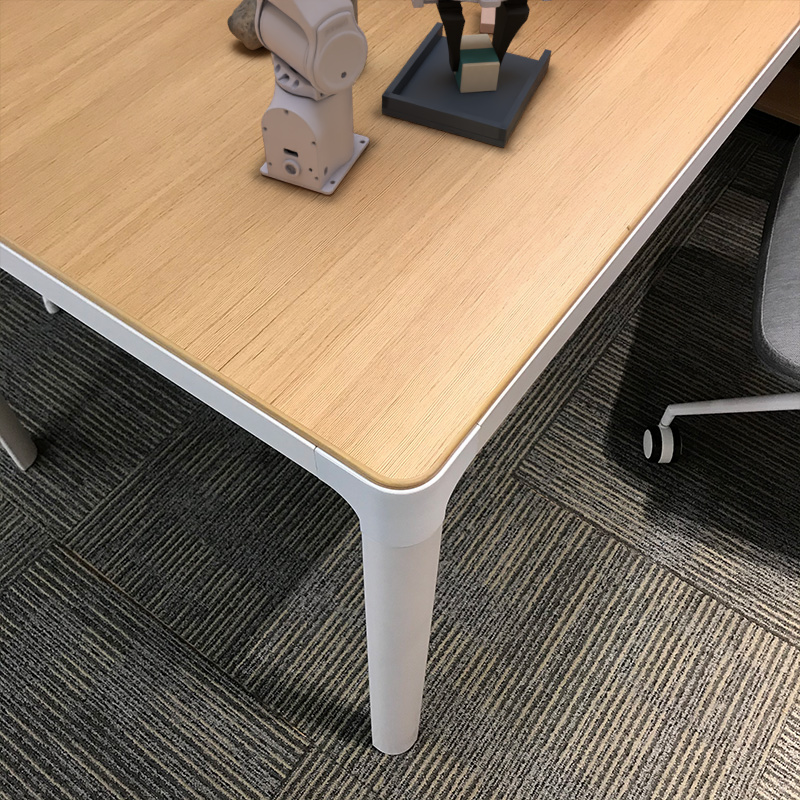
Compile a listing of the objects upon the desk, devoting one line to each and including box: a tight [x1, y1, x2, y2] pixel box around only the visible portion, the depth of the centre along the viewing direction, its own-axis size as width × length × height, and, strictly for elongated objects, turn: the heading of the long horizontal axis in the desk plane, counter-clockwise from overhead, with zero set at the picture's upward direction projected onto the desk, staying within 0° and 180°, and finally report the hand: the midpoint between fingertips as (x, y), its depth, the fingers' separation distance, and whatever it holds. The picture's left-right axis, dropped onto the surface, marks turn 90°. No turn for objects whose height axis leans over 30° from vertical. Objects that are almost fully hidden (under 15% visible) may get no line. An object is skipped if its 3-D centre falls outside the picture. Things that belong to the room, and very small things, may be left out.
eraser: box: [454, 33, 500, 93], centre depth 85 cm, size 4×6×3 cm
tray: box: [381, 21, 552, 149], centre depth 85 cm, size 16×14×2 cm
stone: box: [227, 0, 264, 51], centre depth 88 cm, size 10×5×8 cm
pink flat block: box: [479, 7, 496, 34], centre depth 93 cm, size 4×4×1 cm
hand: (474, 65), depth 85 cm, fingers closed on eraser, 4 cm apart
